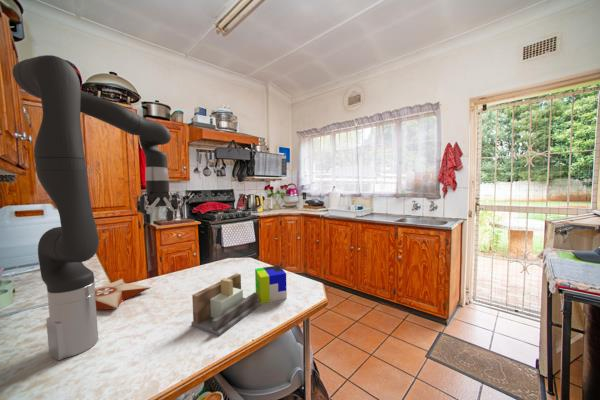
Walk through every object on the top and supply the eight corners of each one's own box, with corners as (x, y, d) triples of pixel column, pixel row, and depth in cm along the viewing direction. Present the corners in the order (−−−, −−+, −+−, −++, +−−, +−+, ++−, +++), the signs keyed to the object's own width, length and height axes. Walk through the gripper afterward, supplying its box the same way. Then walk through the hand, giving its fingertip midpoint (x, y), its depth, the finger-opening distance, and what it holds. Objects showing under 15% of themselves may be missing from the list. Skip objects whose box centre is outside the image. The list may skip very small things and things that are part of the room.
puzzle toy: (286, 298, 92) (286, 273, 92) (261, 303, 89) (260, 277, 88) (279, 288, 102) (278, 265, 101) (255, 292, 98) (255, 268, 97)
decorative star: (132, 271, 112) (160, 287, 94) (132, 280, 112) (161, 297, 94) (43, 294, 89) (58, 321, 71) (44, 304, 89) (59, 334, 71)
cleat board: (219, 335, 70) (218, 302, 69) (191, 325, 75) (190, 294, 75) (260, 304, 88) (260, 278, 87) (235, 298, 93) (234, 273, 92)
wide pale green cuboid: (222, 320, 76) (221, 286, 75) (210, 316, 78) (209, 284, 78) (243, 306, 85) (242, 276, 84) (232, 303, 87) (231, 273, 86)
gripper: (143, 179, 82) (146, 226, 83) (181, 179, 94) (182, 220, 96) (131, 179, 85) (133, 224, 86) (168, 180, 98) (170, 219, 99)
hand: (159, 222), depth 91 cm, fingers open, 8 cm apart
